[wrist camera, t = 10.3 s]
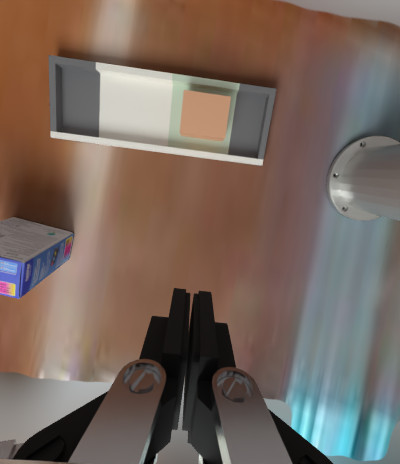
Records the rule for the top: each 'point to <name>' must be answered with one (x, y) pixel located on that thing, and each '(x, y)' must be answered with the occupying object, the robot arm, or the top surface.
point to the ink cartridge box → (29, 254)
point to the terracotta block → (204, 115)
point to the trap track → (152, 110)
